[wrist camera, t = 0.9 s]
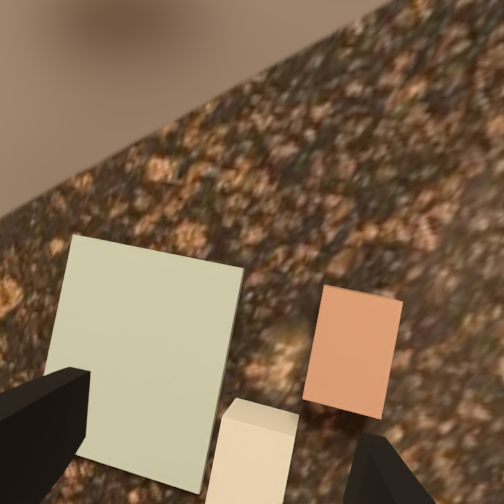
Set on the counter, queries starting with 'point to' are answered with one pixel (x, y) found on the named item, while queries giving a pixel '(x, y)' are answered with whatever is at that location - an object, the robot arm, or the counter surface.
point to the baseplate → (147, 354)
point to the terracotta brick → (352, 351)
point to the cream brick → (252, 455)
